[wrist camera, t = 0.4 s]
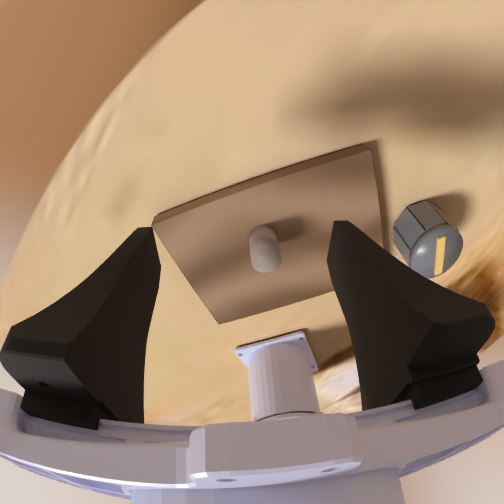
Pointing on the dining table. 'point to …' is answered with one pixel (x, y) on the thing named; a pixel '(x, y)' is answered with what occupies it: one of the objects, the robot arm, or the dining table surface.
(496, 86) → the dining table surface
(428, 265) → the grey control knob
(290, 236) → the stud board
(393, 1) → the dining table surface
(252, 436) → the robot arm
